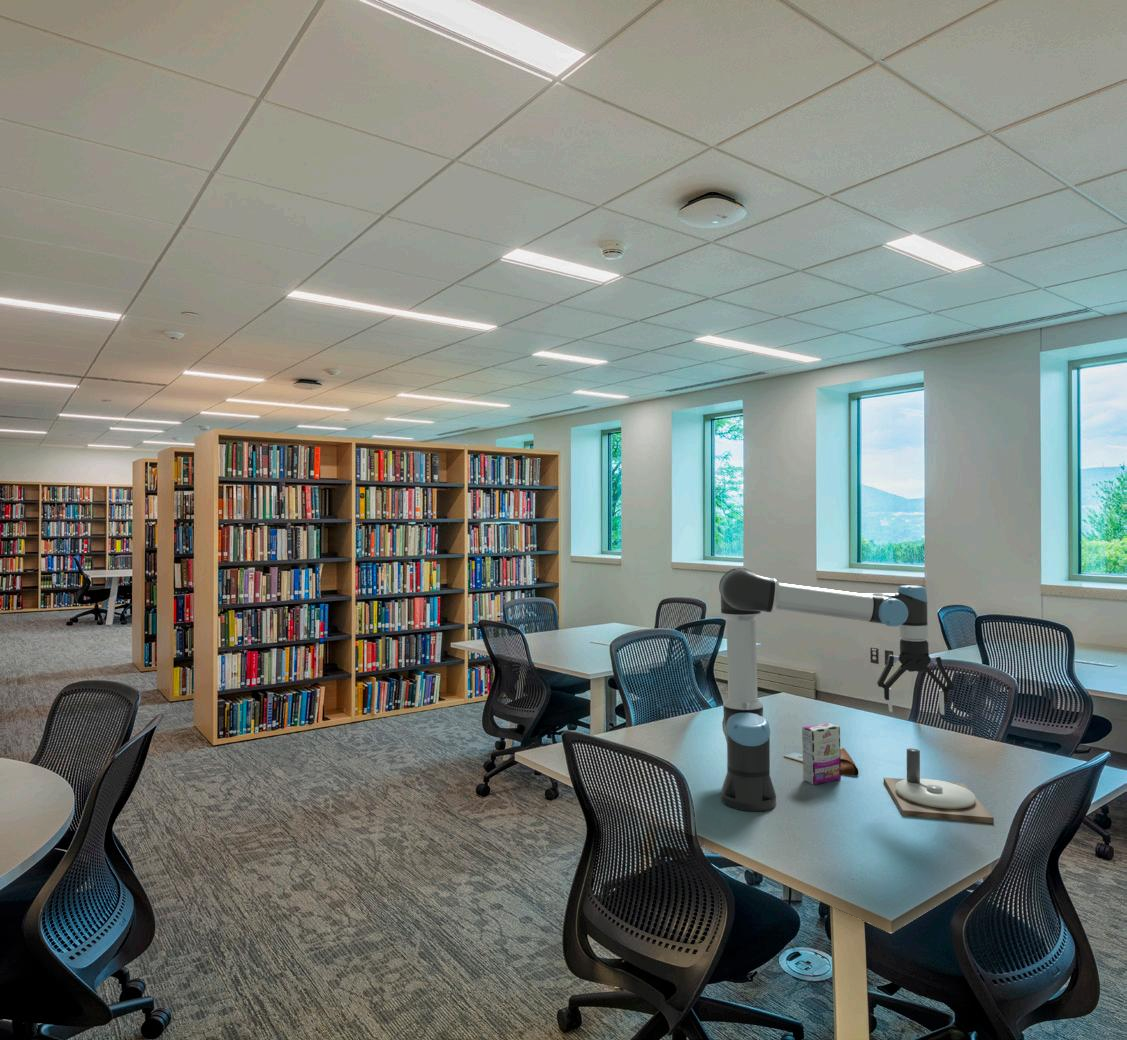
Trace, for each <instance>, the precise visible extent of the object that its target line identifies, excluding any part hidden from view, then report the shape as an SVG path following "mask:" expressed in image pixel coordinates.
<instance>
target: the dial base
mask: <svg viewBox="0 0 1127 1040" xmlns="http://www.w3.org/2000/svg"><path fill="white" fill-rule="evenodd" d="M905 779H906V778H894V777H883V784H884V786H885V788H886V790H887V791H888V792H889V795H890V796H891V798H892V799H893V801H894V804H895V805H896V807H897V809H898V810H899V812H900V814H901V816H903V817H913V818H914V817H915V818H926V819H936V820H937V819H938V820H939V819H940V820H949V821H960V822H974V823H975V822H976V823H983V824H984V823H986V824H994V822H995V821H994V820H995V819H994V817H993V815H992V814H991V813H990V811H988V809H986V807H985V806H984V805H983V804H982V803H981V802H980V800H979V799H978V798H977V797H976V796H975V804H974V805H972V806H970V807H967V808H960V809H946V808H936V807H930V806H926V805H921V804H918V803H915V802H912V801H909V800H907V799H905V798H903V797H901V796H900V795H898V794H897V792H896V783H897V782H899V781H901V780H905ZM948 782H949V781H948ZM949 783H953V784H956V785H959V786H962V787H964V788H966V789H968V790H970V789H969V787H967V786H966V784H965V783H961V782H952V781H951V782H949Z"/></svg>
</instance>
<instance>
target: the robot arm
mask: <svg viewBox="0 0 1127 1040" xmlns="http://www.w3.org/2000/svg"><path fill="white" fill-rule="evenodd" d="M897 588H898V589H897V592H892V593H891V592H889V593H888V592H885V593H884V592H866V593H858V592H850V591H843V590H836V589H829V588H820V587H813V586H806V585H797V584H791V583H790V584H789V583H782V582H779V581H778V580H777V579H776V578H774V577H773V578H772V577H766V576H762V575H758V574H756V573H754V572H753V571H752V570H750V569H748V568H746V567H745V568H743V567H737V568H736V567H734V568H732V569H730V570H728V571H726V572H725V573H724V574H723V575H722V576H721V578H720V581H719V584H718V590H719V591H718V592H720V613H721V615H722V616H723V618H725V619H726V653H727V656H726V657H727V658H726V659H727V661H726V662H727V663H726V665H727V692H728V693H727V696H728V697H727V698H726V699H725V701H723V705H722V706H723V708H722V709H723V718H722V722H721V723H722V732H723V734H724V736H725V741H726V742H725V743H726V749H727V750H726V761H727V763H726V767H727V768H726V771H727V772H726V775H725V777H724V781H723V782H722V783H723V785H722V786H721V791H720V800H721V802H722V803H723V804H724V805H726V806H727V807H730V808H732V809H736V810H741V811H747V812H764V811H768V810H771V809H773V808H775V807H776V806H777V794H776V791H775V787H774V785H773V782H772V778H771V775H770V773H771V771H770V770H771V769H770V768H771V767H770V766H771V764H770V763H771V762H770V760H771V759H770V758H771V755H770V751H771V750H770V748H771V747H770V743H771V742H770V741H771V740H770V739H771V738H770V737H771V727H770V724H769V721H768V720H767V718H765V717H764V705H763V703H762V701H760V700H759V698H758V672H757V671H758V663H757V661H758V660H757V656H758V655H757V631H756V630H757V627H756V626H757V622H756V621H757V618H759V616H760V615H761V613H762V612H765V613H766V612H767V613H773V612H774V611H776V610H778V611H785V612H790V613H791V612H793V613H798V614H799V613H801V614H808V615H814V616H815V615H816V616H822V617H830V618H837V619H843V620H844V619H845V620H853V621H860V622H867V623H873V624H881V625H885V626H887V627H894V628H895V627H899V637H900V640H899V655H893V654H888V656H887V658H888V659H887V663H886V665H885V667H884V668H883V670H882V672H881V674H880V676H879V678H878V680H877V682H876V684H877V686H878V687H879V688H882V689H883V697H884V700H885V701H888V703H887V705H888V712H889V713H894V712H893V711H894V710H893V690H892V688H891V687H892V686H893V685H894V684H895V682H897V681H898V679H899V678H901V676H902V675H903V674H904V673H905V672H906V671H908V672H910V673H911V672H912V673H913V672H917V673H921V672H923V671H925V673H927V675H929V677H930V678H931V679H932V680H934V682H935V683H936V684H937V685H938V686H939V687H940V689H938V700H939V702H938V704H939V714H940V715H942V716H945V703H948V702H949V691H951V690H955V688H956V687H955V685H954V682H953V681H952V679H951V678H950V676H949V674H948V672H947V670H946V669H945V667H944V666H943V661H942V657H941V656H939V655H935V656H930V653H929V641H928V640H927V639H929V627H928V626H929V624H928V623H929V621H928V603H929V601H928V595H927V594H928V593H927V588H925V587H924V586H921V585H913V584H912V585H909V584H907V585H900V586H898V587H897ZM897 661H899V663H901V665H899V667H898V669H897V670H895V672H894V673H893V674H892V675H891V676H890V677H889V678H888V676H889V674H890V672H891V670H892V668H893V667H894V664H896V663H897ZM931 662H933V665H936V667H937V669H938V670H939V672H940V674H941V676H942V677H943V680H944V681H945V682H946V685H945V684H944V683H943V682H942V681H941V680H940V678H938V676H936V674H935V673H934V672H933V671H932V669H930V668H929V667H928V666H929V664H930V663H931ZM887 678H888V679H887ZM885 681H886V682H885Z"/></svg>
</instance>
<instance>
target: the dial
mask: <svg viewBox="0 0 1127 1040" xmlns="http://www.w3.org/2000/svg"><path fill="white" fill-rule="evenodd" d="M904 779H905V780H901V781H899V782H897V783H896V792H897V794H898V795H900V796H901V797H903V798H905V799H907V800H909V801H912V802H915V803H918V804H921V805H926V806H930V807H936V808H946V809H960V808H967V807H970V806H972V805H974V804H975V797H976V794H975V793H973V792H972V790H970V789H969V788H968V789H969V790H968V789H966V788H964V787H962V786H959V785H956V784H953V783H954V782H952V783H949V781H944V780H940V779H939V780H938V779H932V778H922V777H921V751H920V750H919V749H917V748H906V778H904Z"/></svg>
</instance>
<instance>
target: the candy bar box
mask: <svg viewBox="0 0 1127 1040" xmlns="http://www.w3.org/2000/svg"><path fill="white" fill-rule="evenodd" d="M801 730H802V732H801V733H802V738H801V739H802V777H803V778H802V780H803V781H804V782H806V783H809V784H810V785H811V784H812V785H814V786H816V785H820V784H824V783H831V782H834V781H838V780H842V775H841V760H840V758H841V757H840V749H841V725H837V724H834V723H831V722H824V723H819V724H815V725H814V724H813V725H807V726H802V728H801Z"/></svg>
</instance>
